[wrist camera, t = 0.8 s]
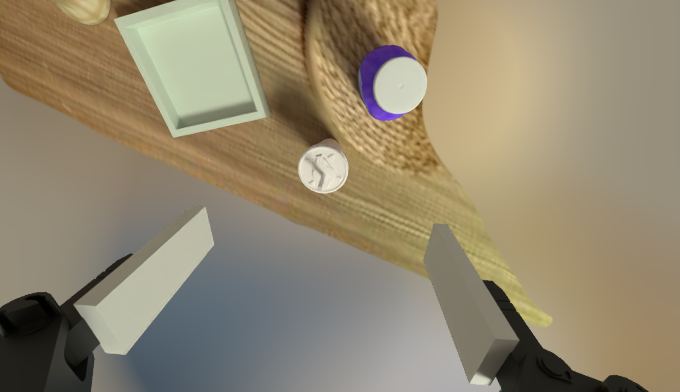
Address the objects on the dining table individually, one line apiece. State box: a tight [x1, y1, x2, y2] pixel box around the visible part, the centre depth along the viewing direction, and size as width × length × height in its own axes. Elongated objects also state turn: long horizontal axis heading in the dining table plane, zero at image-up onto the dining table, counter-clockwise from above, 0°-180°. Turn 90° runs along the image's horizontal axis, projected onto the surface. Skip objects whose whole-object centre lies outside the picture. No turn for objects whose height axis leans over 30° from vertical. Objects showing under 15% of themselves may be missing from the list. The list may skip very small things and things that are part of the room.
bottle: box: [358, 45, 427, 121], centre depth 26 cm, size 7×6×17 cm
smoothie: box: [298, 138, 348, 193], centre depth 32 cm, size 6×6×14 cm
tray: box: [114, 0, 271, 138], centre depth 33 cm, size 15×15×2 cm
